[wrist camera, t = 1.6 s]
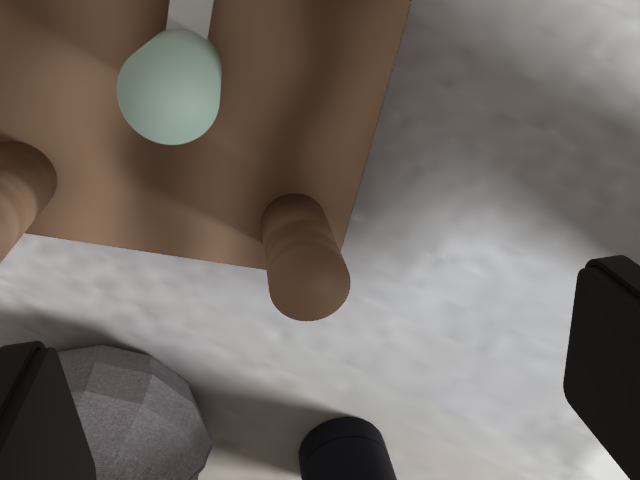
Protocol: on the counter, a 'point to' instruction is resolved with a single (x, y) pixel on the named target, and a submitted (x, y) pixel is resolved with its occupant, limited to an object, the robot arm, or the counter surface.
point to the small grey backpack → (136, 415)
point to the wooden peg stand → (210, 148)
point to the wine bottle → (345, 452)
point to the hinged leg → (173, 78)
